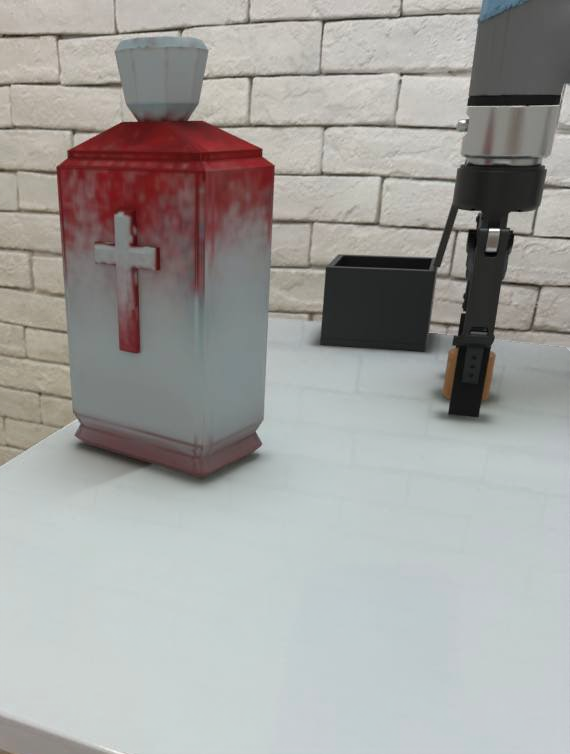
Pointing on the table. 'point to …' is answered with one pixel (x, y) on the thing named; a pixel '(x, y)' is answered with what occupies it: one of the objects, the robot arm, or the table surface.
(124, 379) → the bottle
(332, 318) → the black storage bin
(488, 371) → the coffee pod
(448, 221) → the lid
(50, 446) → the table surface
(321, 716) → the table surface
